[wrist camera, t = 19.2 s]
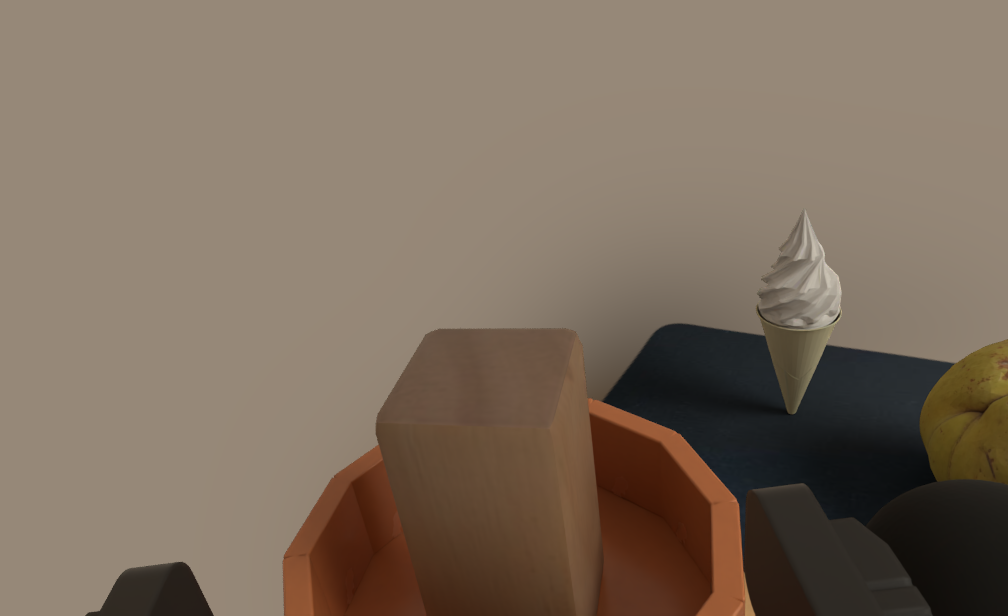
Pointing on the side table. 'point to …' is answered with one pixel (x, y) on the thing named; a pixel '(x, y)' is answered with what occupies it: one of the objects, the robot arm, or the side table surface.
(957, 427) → the fruit
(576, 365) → the wooden block
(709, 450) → the side table surface
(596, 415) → the pan
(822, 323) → the ice cream cone
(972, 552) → the decorative ball
